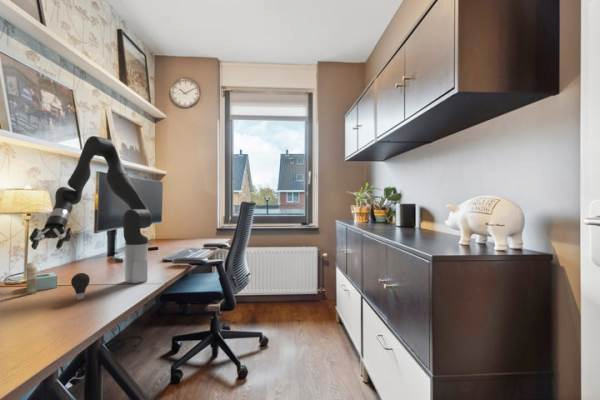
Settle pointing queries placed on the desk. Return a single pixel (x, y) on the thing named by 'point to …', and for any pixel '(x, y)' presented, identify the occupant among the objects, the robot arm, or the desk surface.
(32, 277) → the dowel
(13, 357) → the desk surface
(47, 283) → the bead block
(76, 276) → the light bulb
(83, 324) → the desk surface
